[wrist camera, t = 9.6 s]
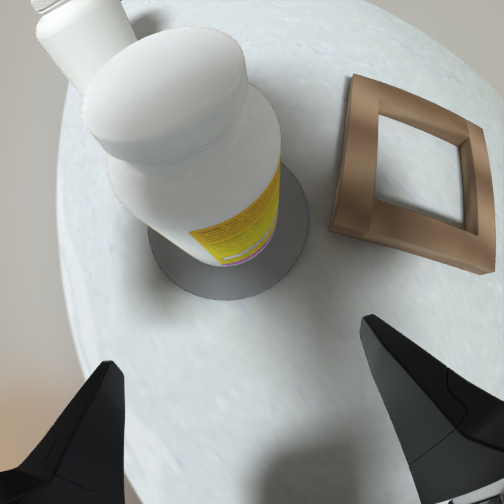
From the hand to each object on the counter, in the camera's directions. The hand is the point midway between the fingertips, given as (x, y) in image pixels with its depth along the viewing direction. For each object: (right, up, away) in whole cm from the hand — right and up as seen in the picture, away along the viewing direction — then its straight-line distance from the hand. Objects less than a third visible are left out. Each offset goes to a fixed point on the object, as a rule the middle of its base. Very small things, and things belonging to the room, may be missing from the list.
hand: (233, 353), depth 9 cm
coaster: (-1, +6, +10) cm, 12 cm away
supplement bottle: (-1, +6, +10) cm, 11 cm away
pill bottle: (-14, +22, +14) cm, 30 cm away
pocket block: (+14, +10, +10) cm, 20 cm away
